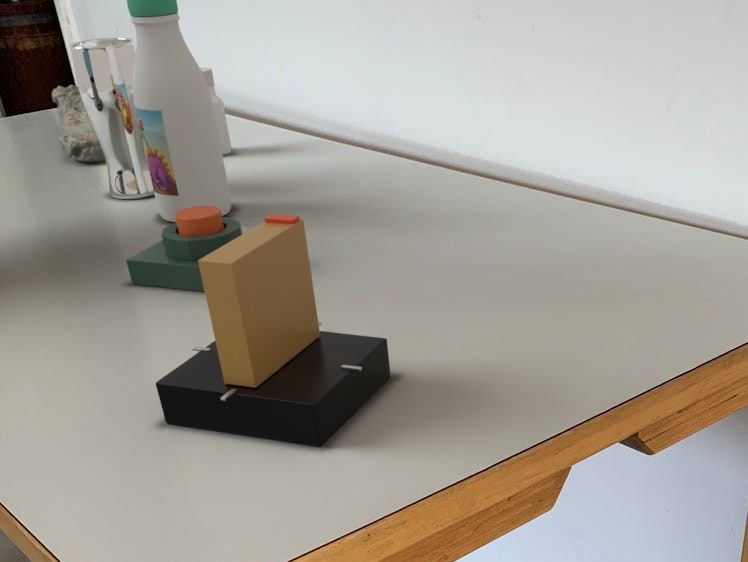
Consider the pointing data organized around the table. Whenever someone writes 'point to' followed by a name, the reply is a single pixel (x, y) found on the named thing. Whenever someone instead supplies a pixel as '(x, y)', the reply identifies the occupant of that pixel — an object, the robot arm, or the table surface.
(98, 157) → the long grey stone
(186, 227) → the button
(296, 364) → the black base
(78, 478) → the table surface
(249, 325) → the tan wooden block
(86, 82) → the beer glass
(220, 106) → the pepper shaker
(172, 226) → the button block
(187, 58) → the milk bottle
